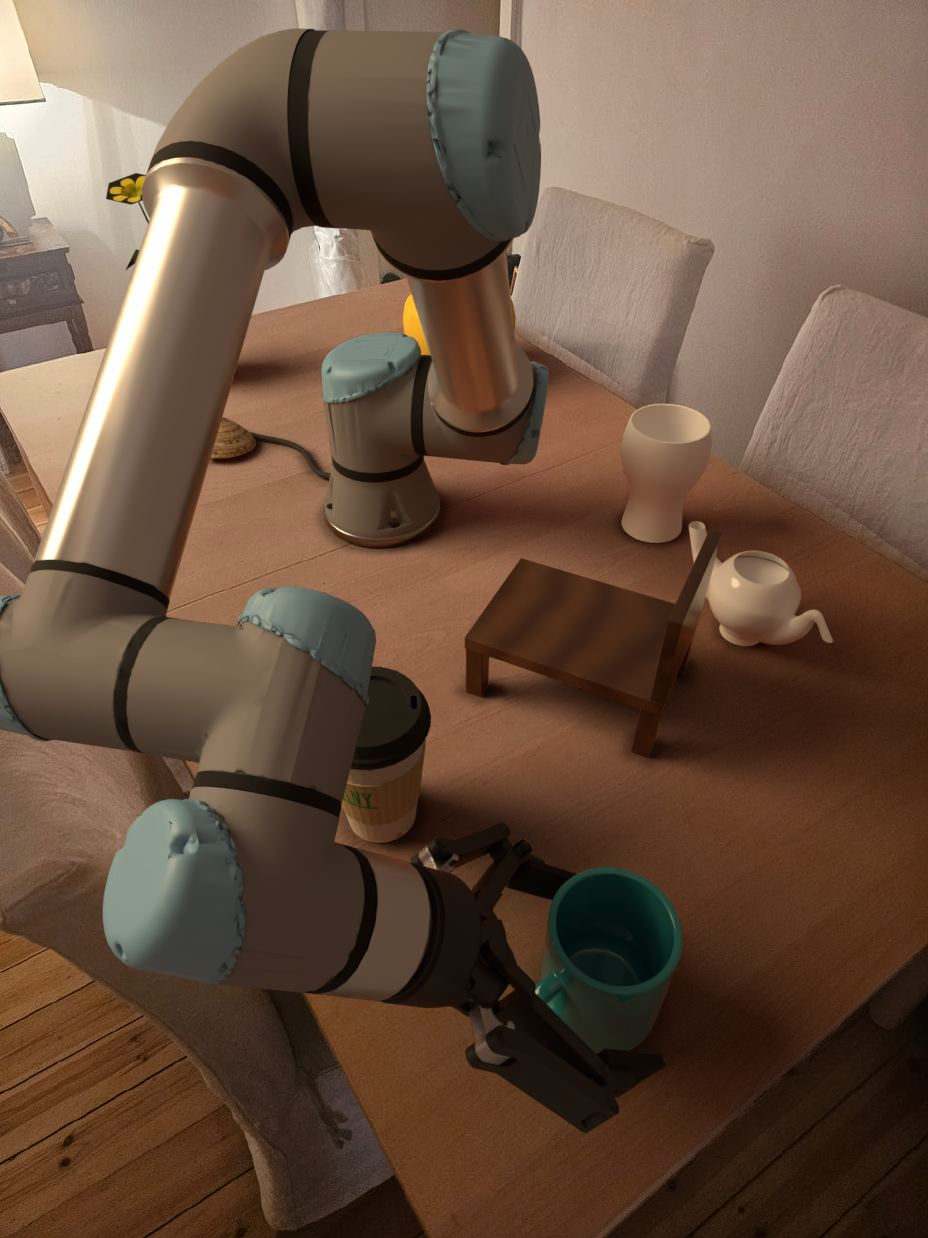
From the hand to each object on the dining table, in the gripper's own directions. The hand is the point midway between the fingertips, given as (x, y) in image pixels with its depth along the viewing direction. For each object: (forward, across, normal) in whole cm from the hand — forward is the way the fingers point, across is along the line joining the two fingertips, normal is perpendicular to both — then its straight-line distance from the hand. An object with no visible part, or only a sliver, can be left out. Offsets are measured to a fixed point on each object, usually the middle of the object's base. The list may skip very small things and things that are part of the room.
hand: (607, 972), depth 59 cm
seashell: (-11, -90, -18) cm, 92 cm away
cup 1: (+3, 0, -5) cm, 5 cm away
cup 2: (+26, -54, +18) cm, 63 cm away
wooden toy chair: (+12, -32, +4) cm, 34 cm away
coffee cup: (-5, -21, -12) cm, 25 cm away
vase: (+17, -104, +10) cm, 105 cm away
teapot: (+26, -33, +19) cm, 46 cm away
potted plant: (-12, -115, -19) cm, 117 cm away
